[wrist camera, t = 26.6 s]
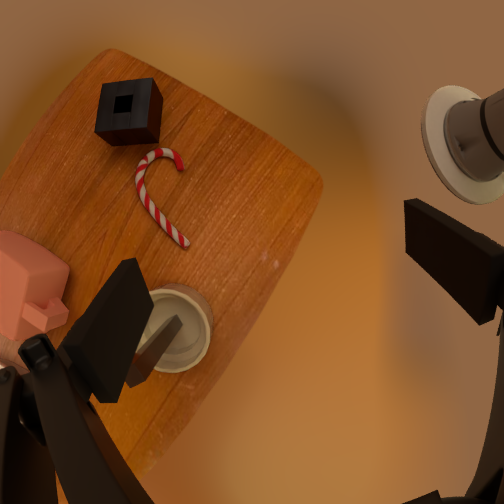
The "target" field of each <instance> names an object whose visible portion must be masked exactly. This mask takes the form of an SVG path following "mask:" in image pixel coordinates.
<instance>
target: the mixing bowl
mask: <svg viewBox="0 0 504 504" xmlns="http://www.w3.org/2000/svg"><path fill="white" fill-rule="evenodd" d="M149 293H150V296H151V298H152V301H153V303H154V308H153V310H152V313H151V315H150V318H149V320H148V322H147V325H146V327H145V330H144V332H143V335H142V337H141V340H140V342H139V345H138V348H137V350H136V352H137V351H138V350H139V349H140V348H141V347H142V345H143V344H144V343H145V342H146V341H147V340H148V339H149V338H150V337H151V336H152V335H153V334H154V333H155V331H156V330H157V329H158V328H159V327H160V326H161V325H162V324H163V323H164V322H165V321H166V320H167V319H168V318H170V317H172V316H174V315H176V314H177V315H178V317H179V319H180V320H181V322H182V324H183V325H182V327H181V328H180V330H179V331H178V333H177V334H176V336H175V337H174V339H173V340H172V342H171V343H170V345H169V346H168V348H167V349H166V351H165V352H164V354H163V355H162V357H161V358H160V360H159V361H158V363H157V364H156V366H155V367H154V369H155V370H158V371H160V372H168V373H177V372H182V371H186V370H188V369H190V368H192V367H193V366H195V365H197V364H198V363H199V362H200V360H201V359H202V358H203V357H204V356H205V354H206V352H207V349H208V346H209V344H210V340H211V337H212V333H213V320H214V319H213V315H212V311H211V308H210V306H209V304H208V303H207V301H206V300H205V299H204V297H203V296H202V295H201V294H199V293H198V292H197V291H196V290H194V289H193V288H191V287H188V286H185V285H183V284H174V283H169V284H165V285H161V286H158V287H156V288H154V289H152V290H150V291H149Z"/></svg>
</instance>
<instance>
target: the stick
mask: <svg viewBox="0 0 504 504" xmlns="http://www.w3.org/2000/svg"><path fill="white" fill-rule="evenodd" d="M182 325H183V324H182V322H181V320H180V319H179V317H178V315H177V314H176V315H174V316H172V317H170V318H168V319H167V320H166V321H165V322H164V323H163V324H162V325H161V326H160V327H159V328H158V329H157V330H156V331H155V333H154V334H153V335H152V336H151V337H150V338H149V339H148V340H147V341H146V342H145V343H144V344H143V345H142V347H141V348H140V349H139V350H138V351H137V352H136V353H135V355H134V358H133V361H132V363H131V366H130V368H129V371H128V374H127V376H126V379H125V382H126V383H127V385H128V386H129V387H130V388H132V387H134V386H136V385H138V384H140V383H142V382H144V381H146V379H147V378H148V376H149V375H150V373H151V372H152V370H153V369H154V367H155V366H156V364H157V363H158V361H159V360H160V358H161V357H162V355H163V354H164V352H165V351H166V349H167V348H168V346H169V345H170V343H171V342H172V340H173V339H174V337H175V336H176V334H177V333H178V331H179V330H180V328H181V327H182Z"/></svg>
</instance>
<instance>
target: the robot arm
mask: <svg viewBox="0 0 504 504" xmlns="http://www.w3.org/2000/svg"><path fill="white" fill-rule="evenodd" d="M471 99H475V100H473V101H471V100H465V101H460V102H458V103H456V104H454V105H453V106H451V107H450V108H449V109H448V111H447V112H446V115H445V118H444V124H443V129H444V137H445V142H446V145H447V148H448V150H449V153H450V155H451V157H452V159H453V161H454V162H455V164H456V165H457V166H458V168H459V169H460V170H461V171H462V172H463V173H464V174H465V175H466V176H467V177H469V178H470V179H472V180H474V181H477V182H488V181H492V180H494V179H496V178H497V177H499V176H500V175H501V174H502V172H504V89H502V90H500V91H498V92H497V93H495V94H493V95H491V96H490V97H488V98H486V99H477V98H471ZM404 212H405V242H406V253H407V254H408V255H409V256H410V257H411V258H413V260H414V261H416V262H417V263H418V264H419V265H420V266H421V267H422V268H423V269H424V270H425V271H426V272H427V273H428V274H429V275H430V276H431V277H432V278H433V279H434V280H435V281H437V283H438V284H440V285H441V286H442V287H443V288H444V289H445V290H446V291H447V292H448V293H449V294H450V295H451V296H452V298H454V300H455V301H456V302H457V303H458V304H459V305H461V307H462V308H463V309H464V310H465V311H466V312H467V313H468V314H469V315H470V316H471V317H472V318H473V319H474V320H475V322H476V323H477V324H478V325H482V324H484V323H487V322H489V321H491V320H493V319H494V317H495V312H496V308H497V305H498V306H499V307H500V308H501V309H502V310H503V313H502V316H501V320H500V324H499V328H498V332H497V336H499V334H500V345H499V357H498V368H497V377H496V384H495V391H494V397H493V403H492V409H491V414H490V419H489V424H488V429H487V433H486V438H485V442H484V446H483V450H482V453H481V457H480V461H479V464H478V468H477V471H476V474H475V476H474V479H473V481H472V483H471V485H470V487H469V488H468V490H467V492H466V494H465V496H464V497H446V498H440V495H439V492H438V490H435V491H433V492H431V493H428V494H426V495H424V496H421V497H418V498H416V499H413V500H411V501H408V502H405V503H403V504H504V247H503V246H501V245H499V244H497V243H496V242H495V241H493V240H491V239H490V238H489V237H487V236H485V235H484V234H481V233H479V232H475V231H474V230H472V229H470V228H469V227H467V226H465V225H464V224H462V223H460V222H459V221H457V220H455V219H454V218H452V217H450V216H448V215H447V214H445V213H443V212H441V211H439V210H437V209H436V208H434V207H432V206H430V205H429V204H427V203H425V202H423V201H421V200H419V199H417V198H416V199H410V200H405V201H404ZM153 308H154V303H153V301H152V298H151V296H150V293H149V291H148V288H147V286H146V283H145V281H144V278H143V276H142V273H141V270H140V268H139V265H138V262H137V260H136V257H135V258H131V259H127V260H122V261H121V263H120V264H119V265H118V267H117V268H116V269H115V271H114V272H113V273H112V275H111V276H110V277H109V279H108V280H107V281H106V283H105V284H104V286H103V287H102V288H101V290H100V291H99V292H98V294H97V295H96V297H95V298H94V299H93V301H92V302H91V304H90V305H89V307H88V308H87V309H86V311H85V312H84V314H83V315H82V316H81V317H80V318H79V319H78V320H76V321H75V323H74V324H73V326H72V327H71V330H69V332H68V333H67V336H65V338H64V339H63V341H62V342H61V344H60V345H59V347H58V348H57V350H55V348H54V346H53V345H52V343H51V341H50V340H49V338H48V336H47V335H46V334H43V333H41V334H36V335H34V336H32V337H30V338H29V339H27V340H26V341H25V342H24V343H23V344H22V345H21V346H20V348H19V350H18V354H19V355H20V357H21V359H22V360H23V362H24V363H25V365H26V366H27V368H28V369H29V371H30V373H26V374H23V375H20V374H19V372H18V371H17V369H16V368H15V367H14V366H7V367H5V368H2V369H0V504H58V496H57V487H56V477H55V470H56V473H57V475H58V478H59V481H60V483H61V486H62V489H63V491H64V494H65V496H66V498H67V501H68V503H69V504H154V502H153V501H152V500H151V498H150V497H149V496H148V494H147V493H146V491H145V490H144V489H143V487H142V486H141V484H140V483H139V481H138V480H137V478H136V477H135V475H134V474H133V473H132V471H131V469H130V468H129V466H128V465H127V463H126V462H125V460H124V459H123V457H122V455H121V454H120V452H119V451H118V449H117V447H116V446H115V444H114V442H113V440H112V439H111V437H110V435H109V434H108V432H107V430H106V428H105V426H104V425H103V423H102V421H101V419H100V417H99V415H98V413H97V412H96V410H95V408H94V406H93V405H92V403H91V402H90V401H89V398H90V396H91V394H92V393H93V394H94V395H95V397H96V398H97V400H98V401H99V402H100V403H117V401H118V399H119V396H120V393H121V390H122V387H123V385H124V382H125V379H126V376H127V374H128V371H129V368H130V366H131V363H132V361H133V358H134V355H135V353H136V350H137V348H138V345H139V342H140V340H141V337H142V335H143V332H144V330H145V327H146V325H147V322H148V320H149V318H150V315H151V313H152V310H153Z"/></svg>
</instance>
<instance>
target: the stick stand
mask: <svg viewBox="0 0 504 504" xmlns="http://www.w3.org/2000/svg"><path fill="white" fill-rule="evenodd" d="M162 105H163V97H162V95H161V93H160V91H159V89H158V87H157V85H156V83H155V81H154V79H153V78H143V79H136V80H126V81H119V82H112V83H105V84H102V89H101V94H100V100H99V105H98V111H97V118H96V124H95V131H94V132H95V133H96V134H97V135H98V136H100V137H101V138H102V139H103V140H105V141H106V142H107V143H109V144H110V145H111V146H124V145H138V144H154V143H159V136H160V125H161V114H162Z"/></svg>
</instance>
